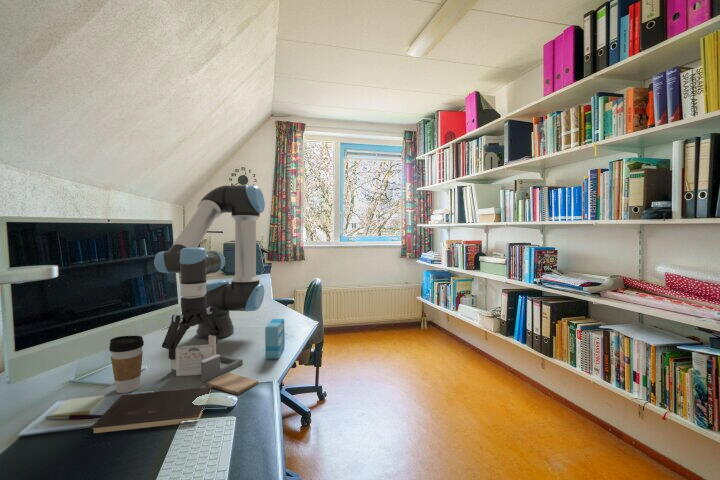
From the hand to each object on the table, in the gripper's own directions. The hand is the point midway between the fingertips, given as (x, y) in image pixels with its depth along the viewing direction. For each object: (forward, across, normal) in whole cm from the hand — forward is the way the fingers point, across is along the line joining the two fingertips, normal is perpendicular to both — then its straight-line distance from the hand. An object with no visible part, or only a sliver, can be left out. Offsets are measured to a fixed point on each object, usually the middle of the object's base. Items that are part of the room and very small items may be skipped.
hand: (194, 361), depth 112 cm
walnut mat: (+4, 0, -16) cm, 17 cm away
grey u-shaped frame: (+4, +5, 0) cm, 6 cm away
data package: (+4, +25, -12) cm, 28 cm away
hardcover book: (+5, -19, -11) cm, 23 cm away
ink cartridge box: (+4, 0, 0) cm, 4 cm away
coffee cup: (+4, -16, +9) cm, 18 cm away
